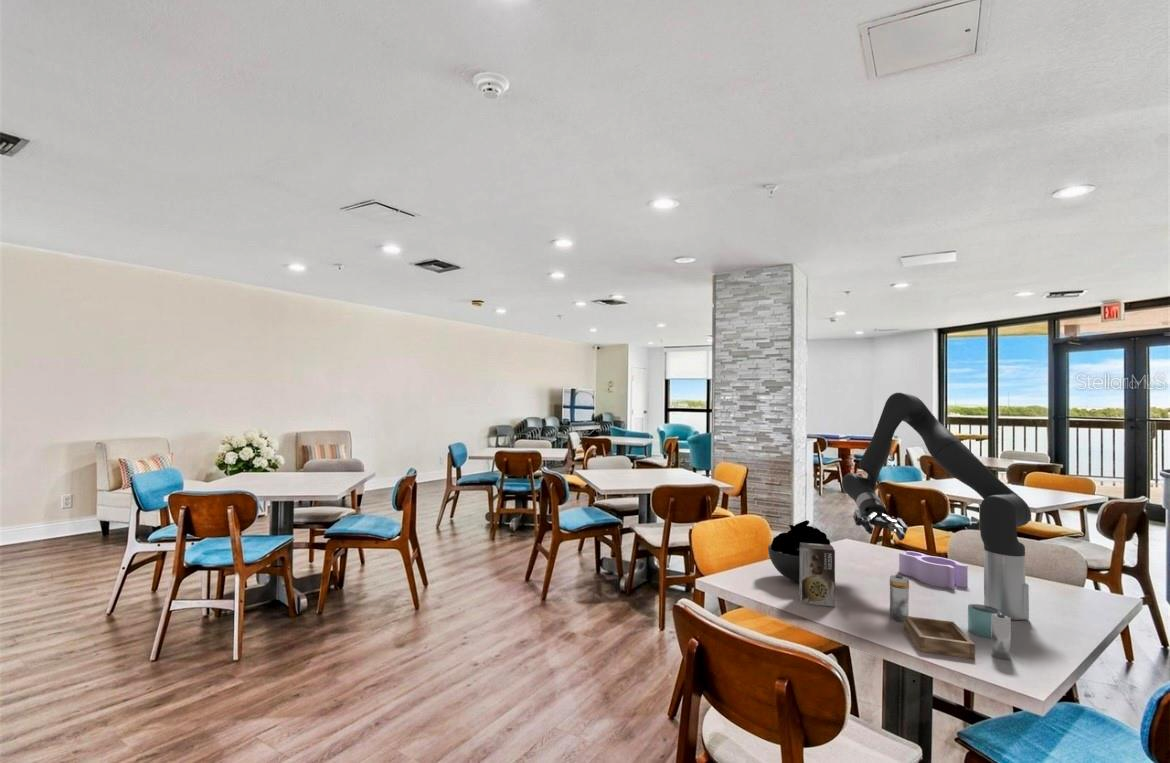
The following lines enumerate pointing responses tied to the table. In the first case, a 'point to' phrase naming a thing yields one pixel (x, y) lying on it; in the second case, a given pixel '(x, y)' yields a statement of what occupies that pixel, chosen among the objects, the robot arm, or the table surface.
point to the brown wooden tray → (939, 637)
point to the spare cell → (1001, 636)
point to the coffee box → (817, 574)
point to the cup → (980, 619)
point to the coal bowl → (793, 548)
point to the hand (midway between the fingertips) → (886, 534)
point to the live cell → (899, 597)
